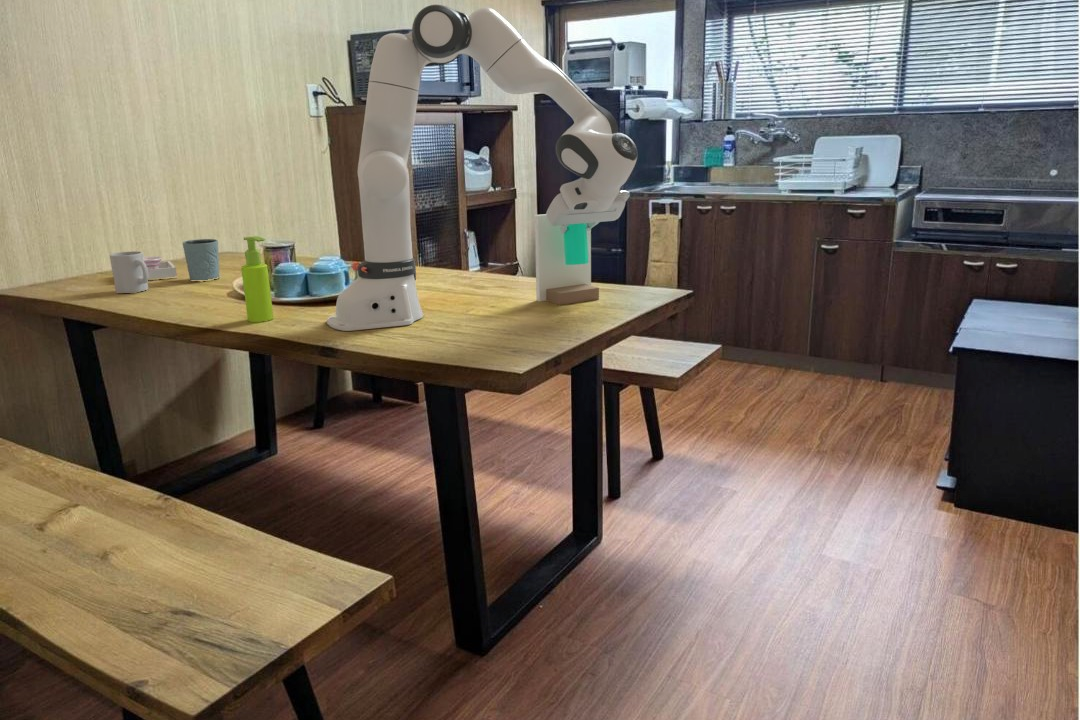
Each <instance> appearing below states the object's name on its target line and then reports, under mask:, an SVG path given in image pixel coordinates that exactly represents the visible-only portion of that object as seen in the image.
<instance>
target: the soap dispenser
mask: <svg viewBox="0 0 1080 720" xmlns="http://www.w3.org/2000/svg"><path fill="white" fill-rule="evenodd" d="M243 241H246V242H247V243H246V244H247V249H246V250H245V251H244V258H245V264H244V265H241V267H240V269H241V271H240V272H241V278H242V284H243V292H244V300H245V308H246V316H247V317H246V318H247V320H248V321H247V322H249V321H250V322H249V323H263V322H262V321H266V322H269V321H268V320H270V321H272V320H271V319H273V318H274V311H273V302H272V293H271V286H270V276H269V269H268V265H267V264H265V263H262V258H261V257H262V256H261V251H260V250H259V249H257V247H256V242H257V243H258V242H265V241H266V239H265V238H264V237H261V236H256V235H253V236H247V237H246V236H245V237H243ZM273 320H274V319H273Z"/></svg>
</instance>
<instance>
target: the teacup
mask: <svg viewBox="0 0 1080 720" xmlns="http://www.w3.org/2000/svg"><path fill="white" fill-rule="evenodd" d="M143 259H144V262H145V264H146V266H147V269H148V270H149V269H159V264H160V263H159V262H162V256H160V255H159V256H157V255H155V256H154V255H153V256H143Z"/></svg>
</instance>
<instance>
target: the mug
mask: <svg viewBox="0 0 1080 720" xmlns="http://www.w3.org/2000/svg"><path fill="white" fill-rule="evenodd" d="M143 257H144V255H143V252H142V251H122V252H121V251H120V252H115V253H111V254H109V259H110V265H111V271H112V275H113V282H114V289H115V292H116V294H118V293H134V294H136V293H135V292H140V291H144V290H147V289H148V290H149V284H148V282H149V281H148V269H147V266H146V264H145V262H144V259H143ZM148 290H147V291H148Z"/></svg>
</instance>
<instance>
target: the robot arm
mask: <svg viewBox="0 0 1080 720" xmlns="http://www.w3.org/2000/svg"><path fill="white" fill-rule="evenodd" d="M460 55H466V56H468V57H470V58H472V59H474V61H476V63H477V64H478V65H479V66H480V68H482V70H483V71H484V72H485V73H486V75H488V77H489V79H490V80H491V81H492V82H493V83H494V84H495V85H496V86H497V87H498V88H499V89H500V90H502V91H504V92H505V93H507V94H511V95H524V94H529V93H540V94H544V95H546V96H549V98H551V99H552V100H553V101H554V102H556V104H557V105H558V106H559V107H560V109H562V110H564V112H566V113H567V115H569V116H570V117H571V119H572V121H573V124H572V125H571V126H570V127H569V128H567V129H566V131H564V132H563V134H562V135H561V136H560V137H559V138H558V139H557V141H556V143H555V155H556V157H557V159H558V162H559V163H560V164H561V166H563V167H564V168H566V170H567V171H569V172H571V173H573V174H575V175H576V176H578V177H579V178H578V179H575V180H573V181H572V180H571V181H570V182H567V183H564V184H561V186H560V188H559V191H560V193H558V194H557V195H556V196H555V197H554V198H553V200H552V201H551V203H550V204H549V206H548V208H547V210H546V213H545V214H546V215H547V218H548V220H549V222H550V224H551V225H552V226H557V225H562V226H561V227H560V231H561V233H562V234H564V233H566V232H567V231H568V230H569V229H568V228H567V226H569V224H581V223H586V226H587V231H590V230H591V231H592V228H594V227H595V226H597V225H598V224H599V223H601V222H613V221H614V222H615V221H616V220H619V218H620V217H621V215H622V213H623V212H624V209H625V207H626V202H627V201H628V199H629V197H630V194H629V192H628V191H627V190H621V187H622V186H624V185H625V184H626V182H627V181H628V180H629V178H630V175H631V174H632V172H633V170H634V168H635V165H636V163H637V160H638V148H637V146H636V144H635V141H633V139H631V138H630V137H629V136H628V135H627V134H624V133H622V132H619V126H618V122H617V120H616V119H615V117H614V116H613V114H612V113H611V112H610V111H608V110H607V109H606V108H604V107H602V106H601V105H600V104H598V103H596V102H595V101H594V100H593V99H592V98H590V96H588V95H587V94H586V92H584V91H583V90H582V89H581V87H579V85H578V84H576V82H574V80H573V79H571V78H570V76H568V75H567V74H566V73H565V72H564V71H563V70H562V69H561V68H560V67H559V65H557V64H556V63H554V62H553V61H551V60H550V59H547V58H545V57H543V56H542V55H541V54H539V53H538V52H537V51H536V50H535V49H533V48H532V46H531V45H530V44H529V43H528V42H527V41H526V40H525V39H524V38H523V36H522V35H521V34H520V33H519V32H518V31H517V29H516V28H515V27H514V26H513V25H512V24H511V23H510V22H509V21H508V20H507V19H506V18H505V17H503V16H502V14H500V13H499V12H498V11H496V10H495V9H493V8H491V7H481V8H478V9H475V11H473V12H472V13H470V14H469V15H467V14H466V13H464V12H461V11H460V10H459V11H458V10H456V9H454V8H451V7H448V6H446V5H442V4H431V5H427V6H425V7H423V8H422V9H421V10H419V12H418V13H417V14H416V16H414V19H413V23H412V27H411V31H409V32H408V33H404V34H403V33H399V32H397V33H396V32H392V33H391V32H390V33H387V34H384V35H383V36H381V37H380V39H379V40H378V41H377V44H376V48H375V51H374V55H373V58H372V61H371V62H372V63H371V65H370V71H369V79H368V84H367V85H368V87H367V95H366V103H365V111H364V120H363V127H362V134H361V142H360V150H359V158H358V164H357V177H358V187H359V199H360V213H361V227H362V238H363V239H362V240H363V249H364V260H363V261H362V262H357V261H353V262H352V263H351V264H350V268H351V269H352V270H353V271H355V272H357V274H358V277H357V278H356V279H355V280H354V281H353V282H352V283H351V284H349V286H347V287H346V288H345V289H344V290H343V291H342V292H341V293H339V294H338V296H337V298H336V305H335V315H334V314H333V315H329V316H328V317H327V319H326V323H327V325H328V326H329V327H330V328H332V329H334V330H339V331H344V332H350V331H360V330H370V329H381V328H391V327H400V326H409V325H412V324H413V323H414V322H415V321H418V320H420V319H422V318H423V317H424V313H423V310H422V307H421V304H420V300H419V296H418V291H417V285H416V280H417V268H416V261H415V258H414V257H413V244H412V229H411V195H410V194H411V190H410V188H411V187H410V173H409V168H408V160H409V156H410V155H409V154H410V149H411V143H412V139H413V138H412V137H413V134H414V130H415V121H416V116H417V115H416V114H417V107H418V98H419V94H420V93H419V92H420V83H421V78H422V73H423V70H424V68H425V67H433V66H443V65H447V64H450V63H452V62H454V61H455V60H456V59H458V58H459V56H460Z"/></svg>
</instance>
